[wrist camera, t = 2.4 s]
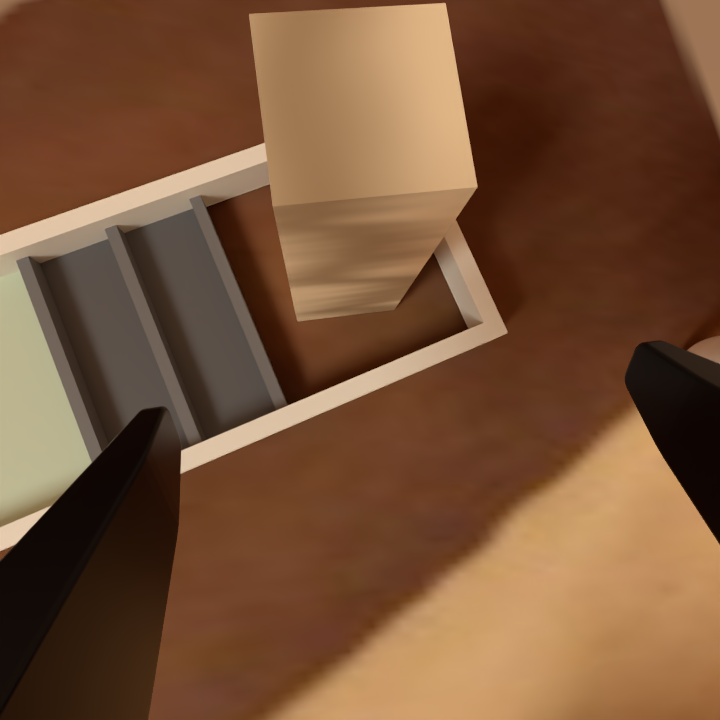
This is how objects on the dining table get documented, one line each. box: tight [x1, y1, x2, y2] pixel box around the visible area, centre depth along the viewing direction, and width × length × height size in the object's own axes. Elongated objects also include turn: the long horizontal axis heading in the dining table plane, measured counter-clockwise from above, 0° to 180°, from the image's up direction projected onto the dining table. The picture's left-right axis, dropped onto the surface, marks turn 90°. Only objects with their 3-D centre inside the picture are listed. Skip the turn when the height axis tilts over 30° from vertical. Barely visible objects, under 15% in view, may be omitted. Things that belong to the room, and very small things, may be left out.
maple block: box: [249, 3, 477, 321], centre depth 17 cm, size 4×4×12 cm
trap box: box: [0, 143, 508, 551], centre depth 21 cm, size 28×12×2 cm, turn 113°
